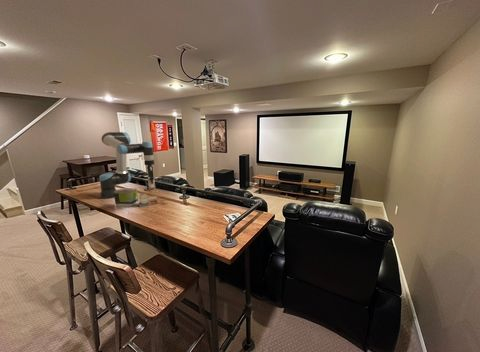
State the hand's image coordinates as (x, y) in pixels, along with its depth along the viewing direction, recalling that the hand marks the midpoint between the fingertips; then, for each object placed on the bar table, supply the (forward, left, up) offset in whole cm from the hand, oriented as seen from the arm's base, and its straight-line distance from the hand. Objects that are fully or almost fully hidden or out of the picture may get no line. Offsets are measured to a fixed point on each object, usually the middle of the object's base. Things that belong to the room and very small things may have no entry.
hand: (151, 186), depth 168 cm
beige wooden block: (0, 0, -2) cm, 2 cm away
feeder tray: (-10, 0, -17) cm, 19 cm away
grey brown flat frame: (0, -4, -17) cm, 17 cm away
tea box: (-11, -20, -17) cm, 28 cm away
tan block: (0, -8, -15) cm, 17 cm away
